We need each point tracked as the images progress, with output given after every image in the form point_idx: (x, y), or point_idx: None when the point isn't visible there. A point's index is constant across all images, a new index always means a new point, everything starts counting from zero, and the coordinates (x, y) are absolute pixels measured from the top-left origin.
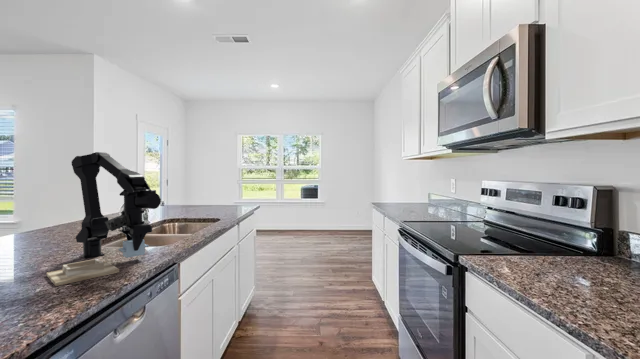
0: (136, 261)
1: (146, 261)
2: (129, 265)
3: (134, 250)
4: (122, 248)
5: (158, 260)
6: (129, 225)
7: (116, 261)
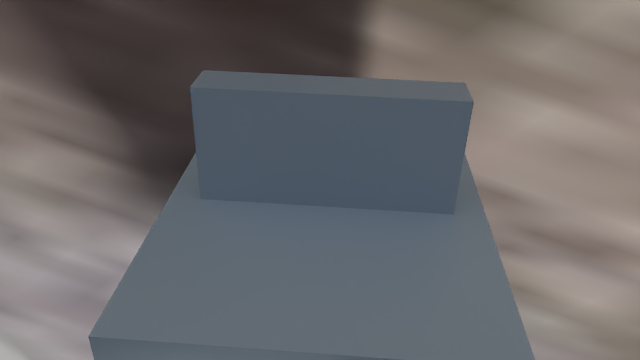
0: None
1: None
2: (127, 58)
3: None
4: (371, 172)
5: None
6: None
7: (577, 12)
